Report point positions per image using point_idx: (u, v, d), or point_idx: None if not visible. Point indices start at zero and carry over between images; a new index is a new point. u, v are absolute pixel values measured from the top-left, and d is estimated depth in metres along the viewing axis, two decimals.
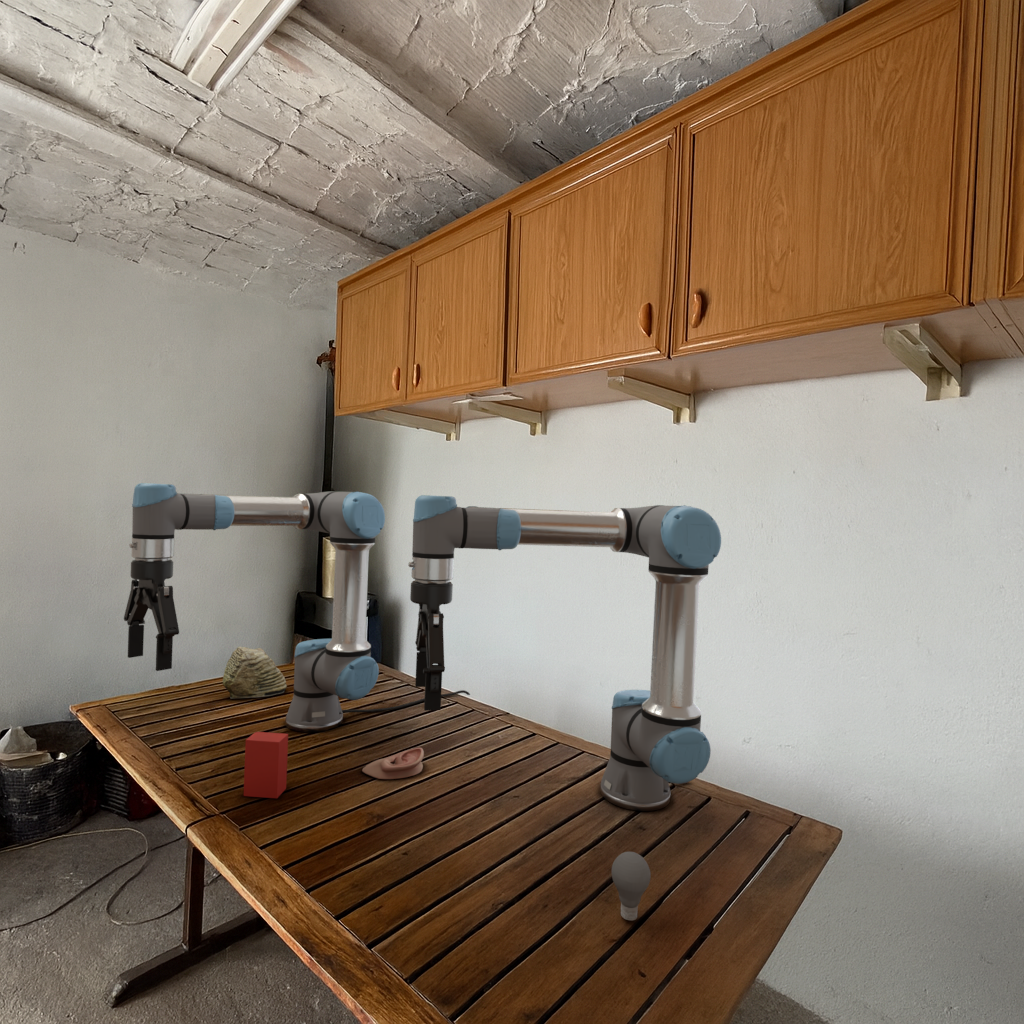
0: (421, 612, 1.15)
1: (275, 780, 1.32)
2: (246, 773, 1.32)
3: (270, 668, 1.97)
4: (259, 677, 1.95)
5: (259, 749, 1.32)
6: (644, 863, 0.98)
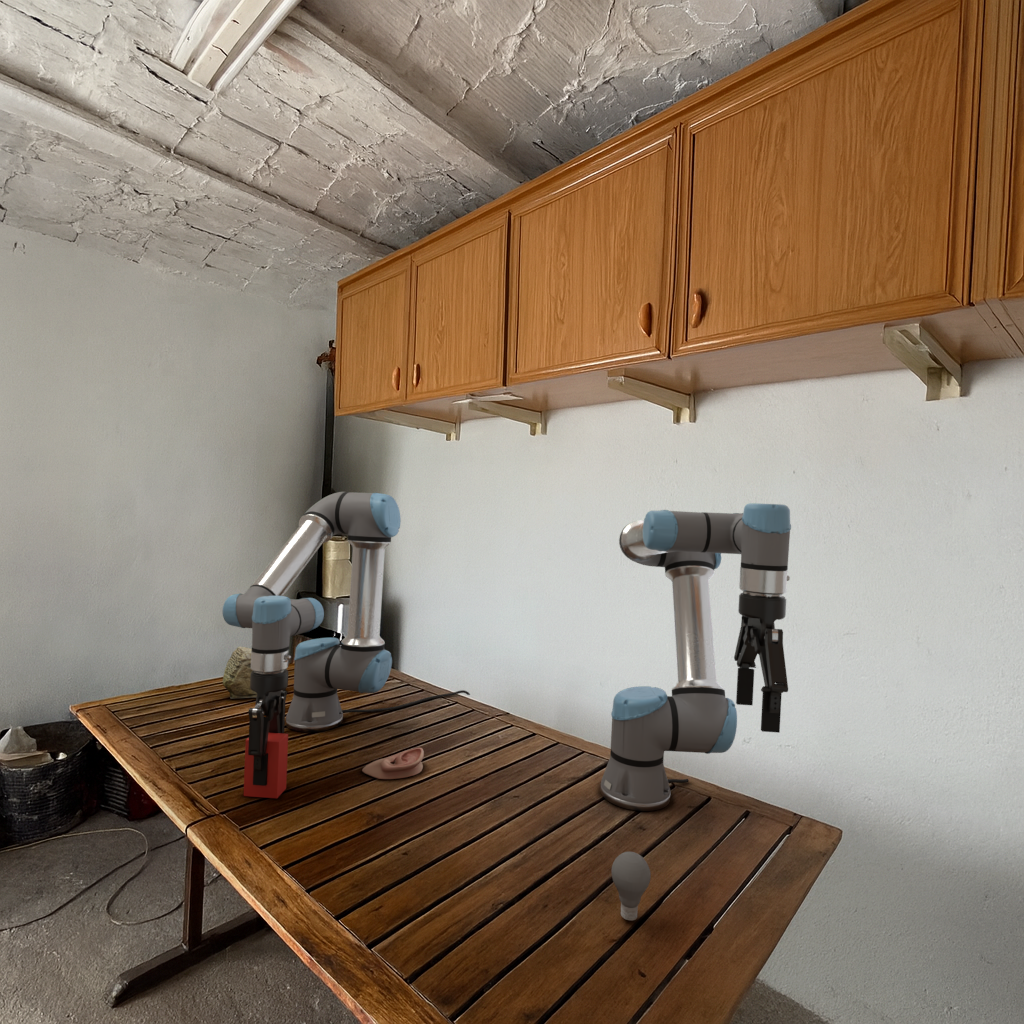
0: None
1: (275, 780, 1.32)
2: (246, 773, 1.32)
3: None
4: None
5: None
6: (644, 863, 0.98)
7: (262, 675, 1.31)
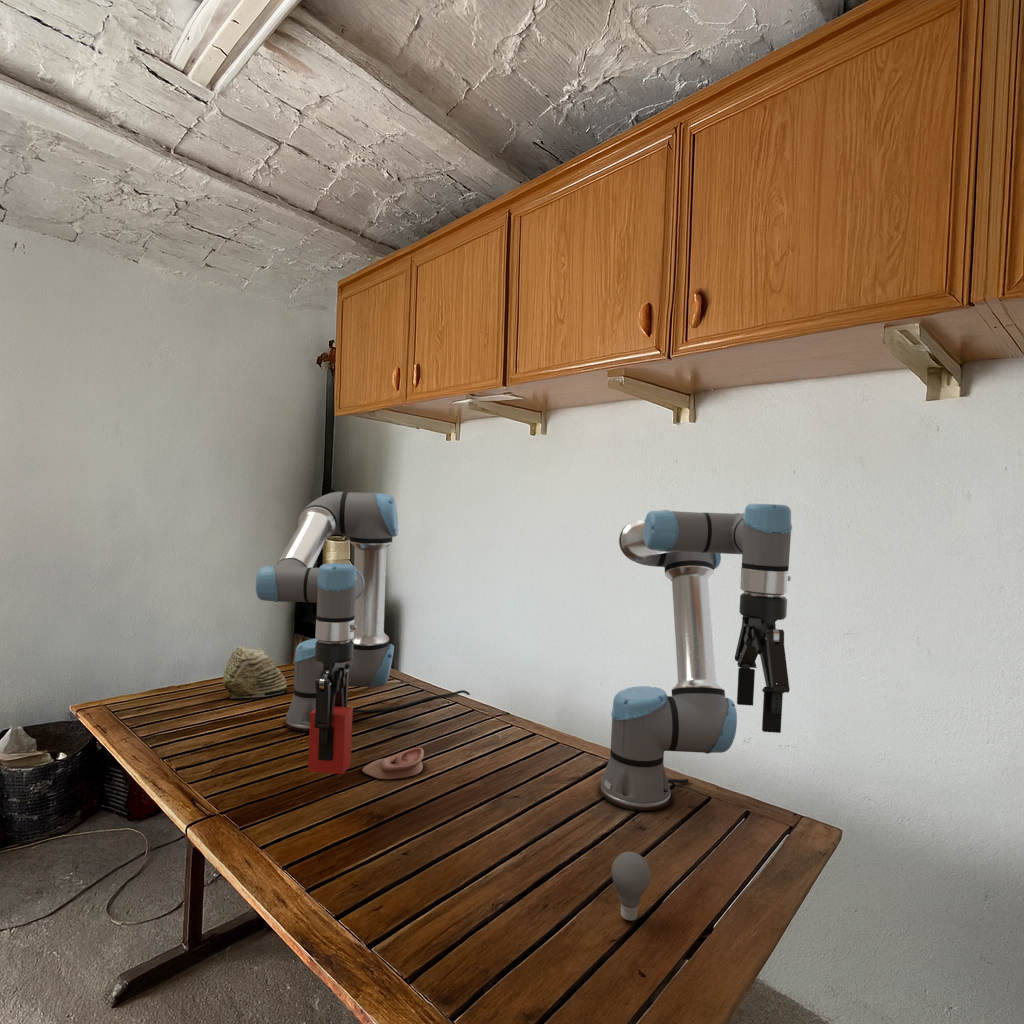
0: None
1: (341, 755, 1.26)
2: (311, 747, 1.27)
3: (270, 668, 1.97)
4: (259, 677, 1.95)
5: None
6: (644, 863, 0.98)
7: (328, 645, 1.25)
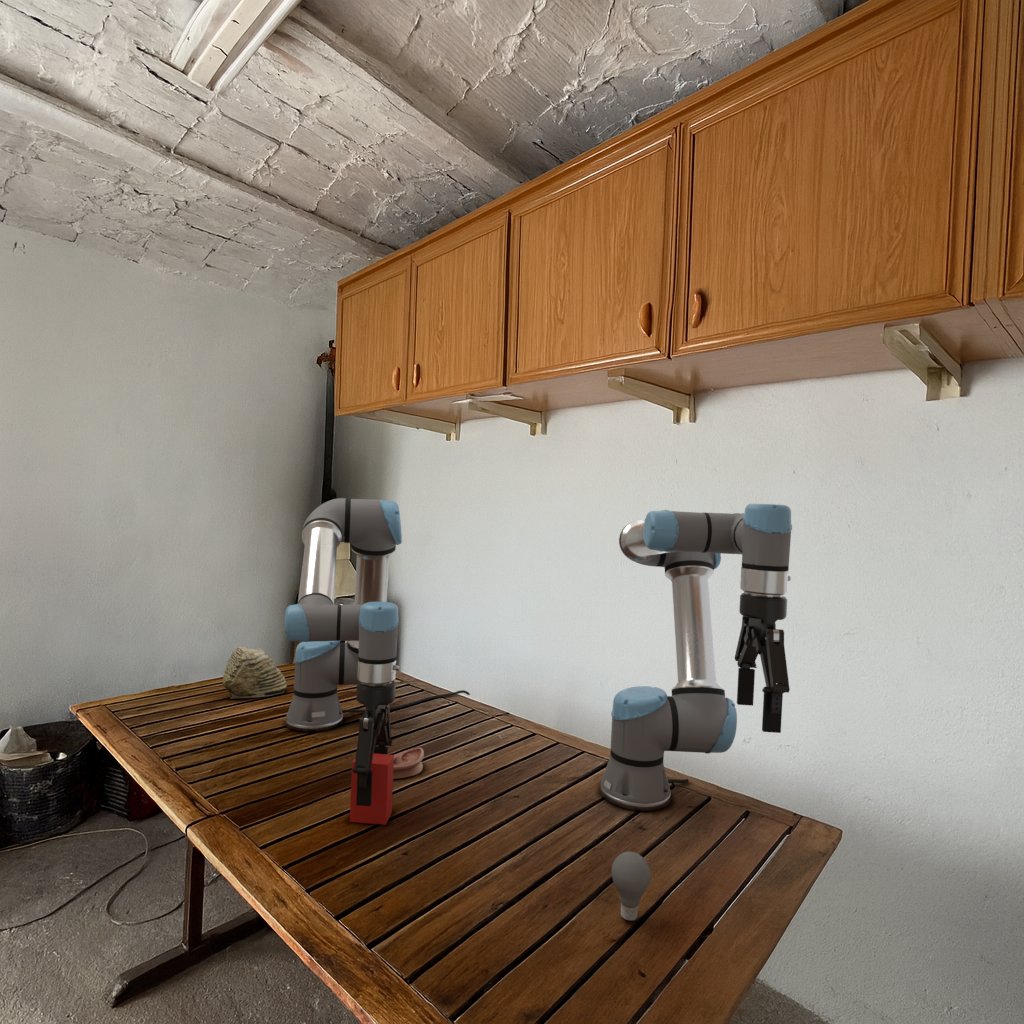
0: None
1: (384, 805, 1.24)
2: (352, 797, 1.24)
3: (270, 668, 1.97)
4: (259, 677, 1.95)
5: None
6: (644, 863, 0.98)
7: (371, 687, 1.22)
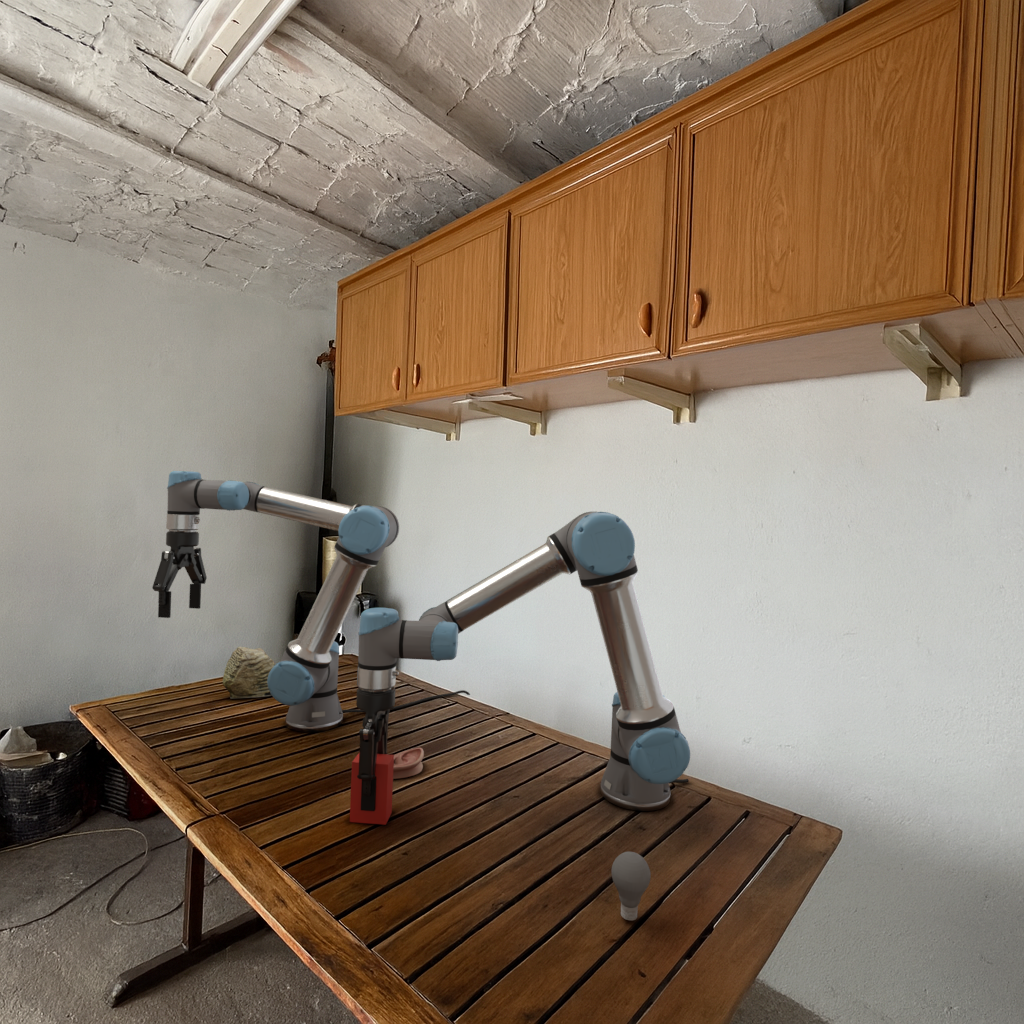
0: (381, 718, 1.24)
1: (384, 805, 1.24)
2: (352, 797, 1.24)
3: (270, 668, 1.97)
4: (259, 677, 1.95)
5: None
6: (644, 863, 0.98)
7: (175, 532, 1.60)
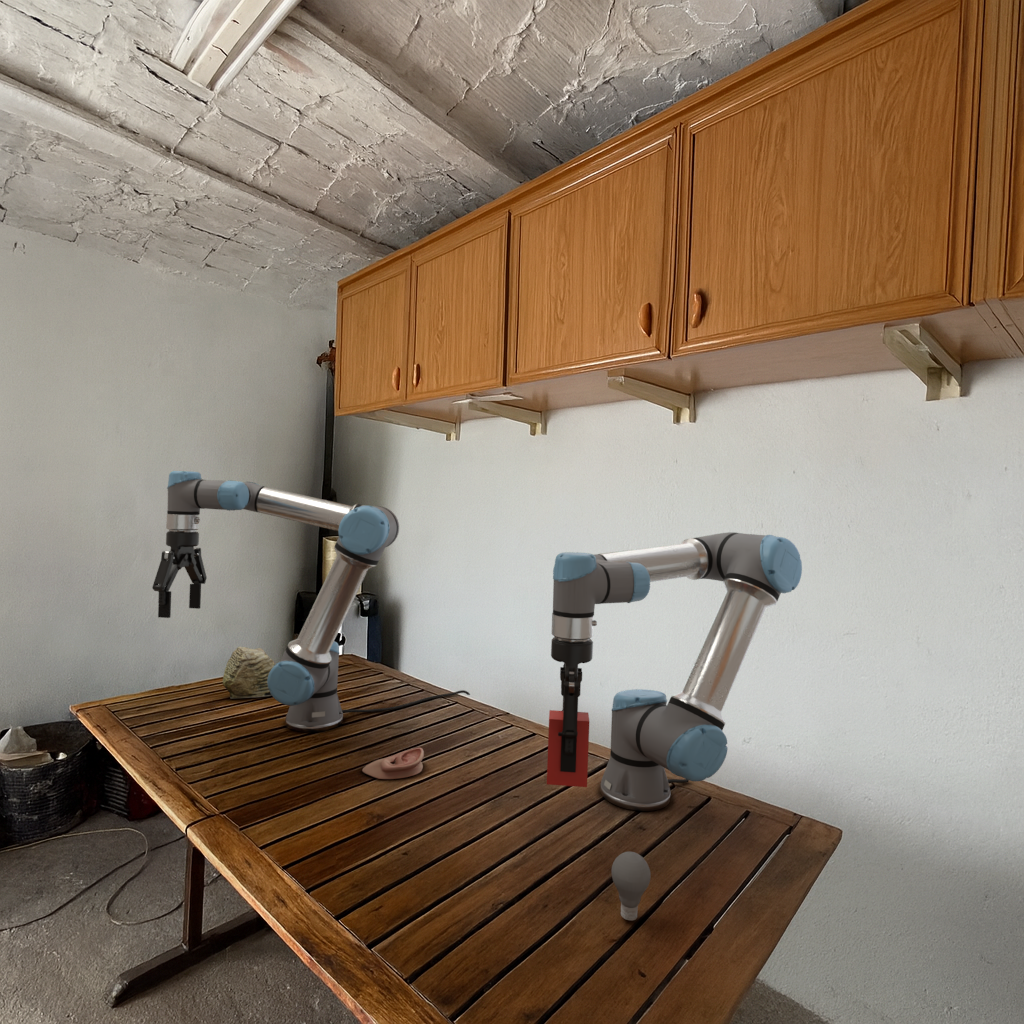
0: (579, 672, 1.14)
1: (585, 766, 1.13)
2: (550, 758, 1.13)
3: (270, 668, 1.97)
4: (259, 677, 1.95)
5: None
6: (644, 863, 0.98)
7: (175, 532, 1.60)
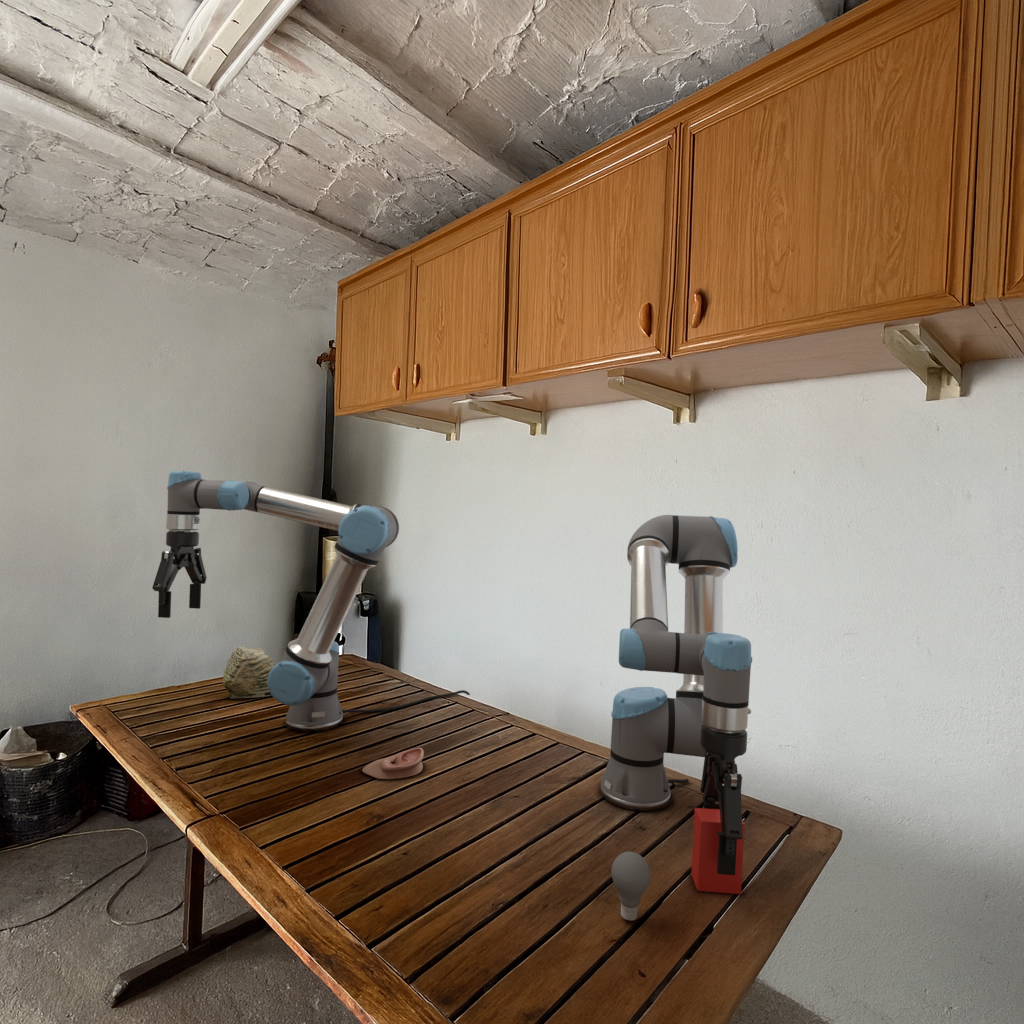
0: None
1: (739, 872, 1.06)
2: (701, 862, 1.06)
3: (270, 668, 1.97)
4: (259, 677, 1.95)
5: None
6: (644, 863, 0.98)
7: (175, 532, 1.60)
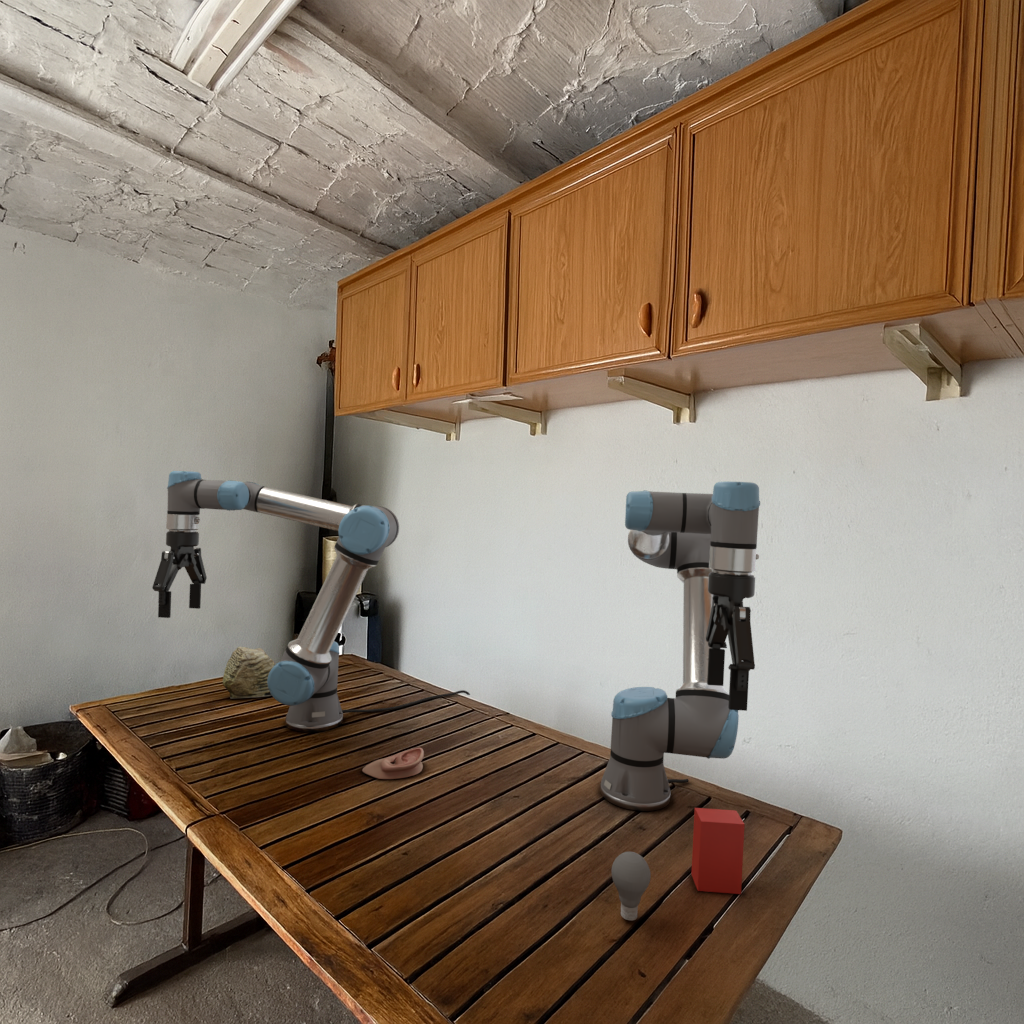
0: None
1: (739, 872, 1.06)
2: (701, 862, 1.06)
3: (270, 668, 1.97)
4: (259, 677, 1.95)
5: (718, 833, 1.06)
6: (644, 863, 0.98)
7: (175, 532, 1.60)
